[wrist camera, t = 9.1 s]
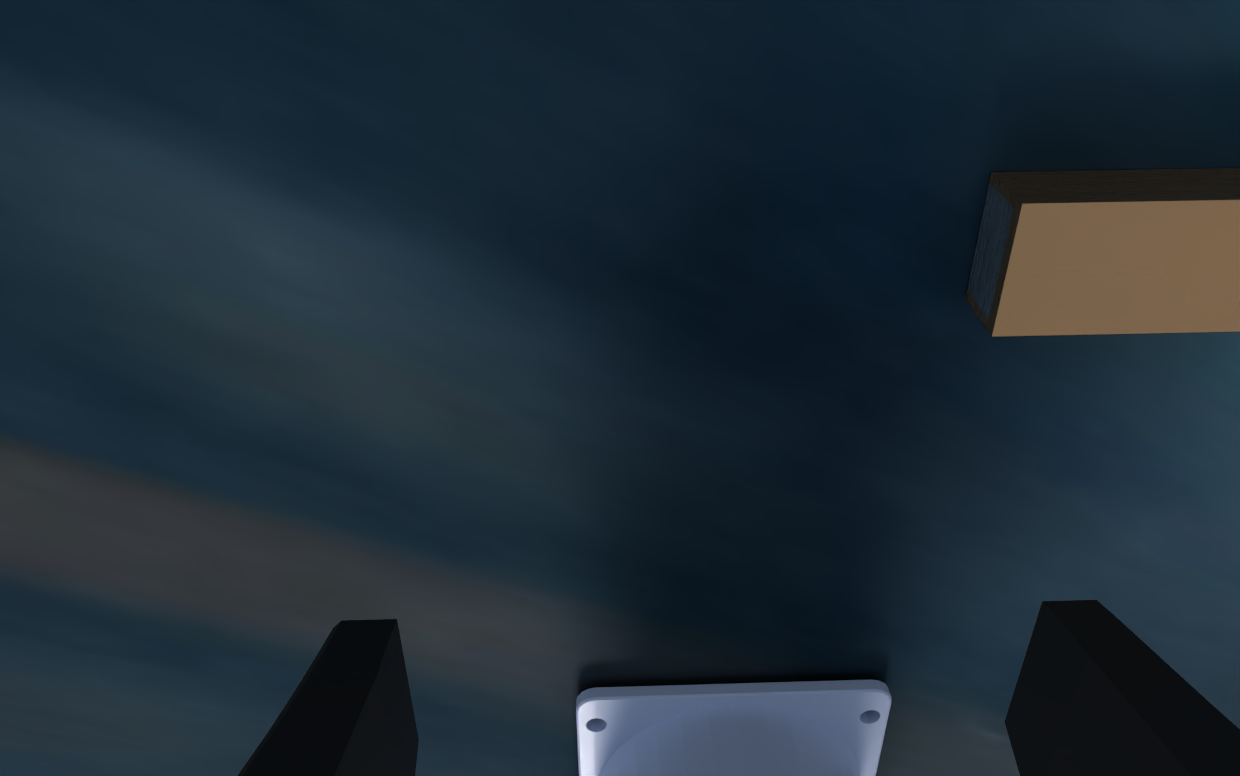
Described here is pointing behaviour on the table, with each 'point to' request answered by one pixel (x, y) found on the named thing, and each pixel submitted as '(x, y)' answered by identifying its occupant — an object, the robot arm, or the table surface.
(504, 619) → the table surface
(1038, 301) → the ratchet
